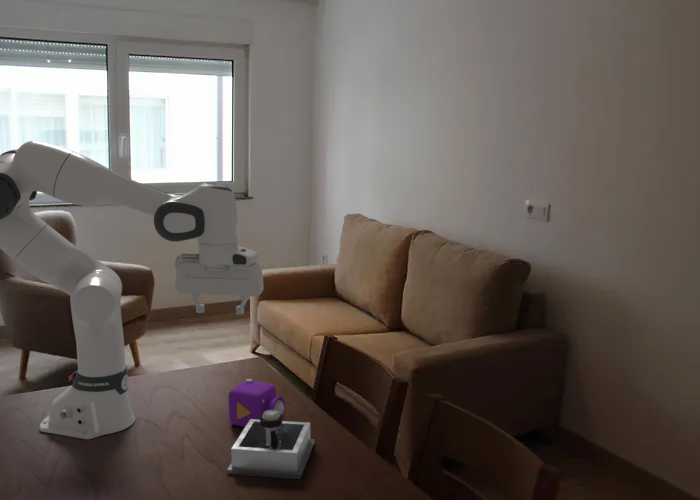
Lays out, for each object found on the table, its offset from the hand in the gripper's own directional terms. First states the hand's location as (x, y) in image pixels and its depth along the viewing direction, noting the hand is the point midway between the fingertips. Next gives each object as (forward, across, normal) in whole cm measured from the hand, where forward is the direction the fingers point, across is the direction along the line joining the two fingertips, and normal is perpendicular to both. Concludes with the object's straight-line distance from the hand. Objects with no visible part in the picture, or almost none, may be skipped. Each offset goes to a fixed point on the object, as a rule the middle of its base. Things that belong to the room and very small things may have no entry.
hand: (220, 313), depth 161 cm
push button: (+30, +14, -8) cm, 34 cm away
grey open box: (+31, +14, -8) cm, 35 cm away
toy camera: (+31, +6, +10) cm, 33 cm away
